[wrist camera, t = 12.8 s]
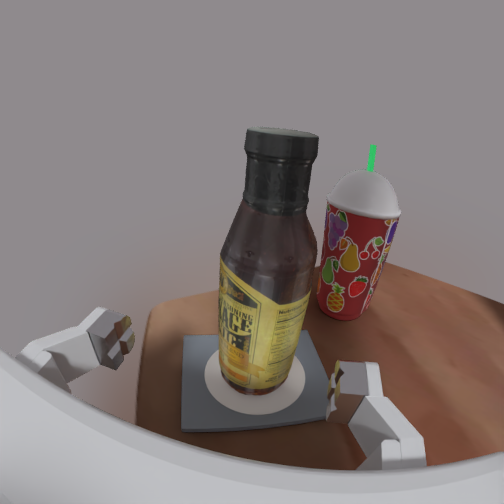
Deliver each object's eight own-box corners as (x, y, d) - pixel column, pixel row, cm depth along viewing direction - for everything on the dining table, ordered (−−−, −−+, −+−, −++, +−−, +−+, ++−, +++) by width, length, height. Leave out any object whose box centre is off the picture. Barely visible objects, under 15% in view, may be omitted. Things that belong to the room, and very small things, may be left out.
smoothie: (382, 312, 34) (423, 156, 26) (344, 338, 30) (389, 150, 21) (336, 283, 40) (362, 141, 32) (294, 301, 36) (317, 135, 27)
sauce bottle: (212, 354, 26) (212, 124, 17) (273, 343, 28) (300, 129, 19) (230, 410, 20) (241, 128, 12) (301, 393, 22) (357, 140, 14)
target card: (306, 333, 30) (307, 329, 30) (340, 415, 21) (343, 411, 20) (184, 339, 28) (183, 334, 28) (182, 432, 19) (181, 428, 18)
